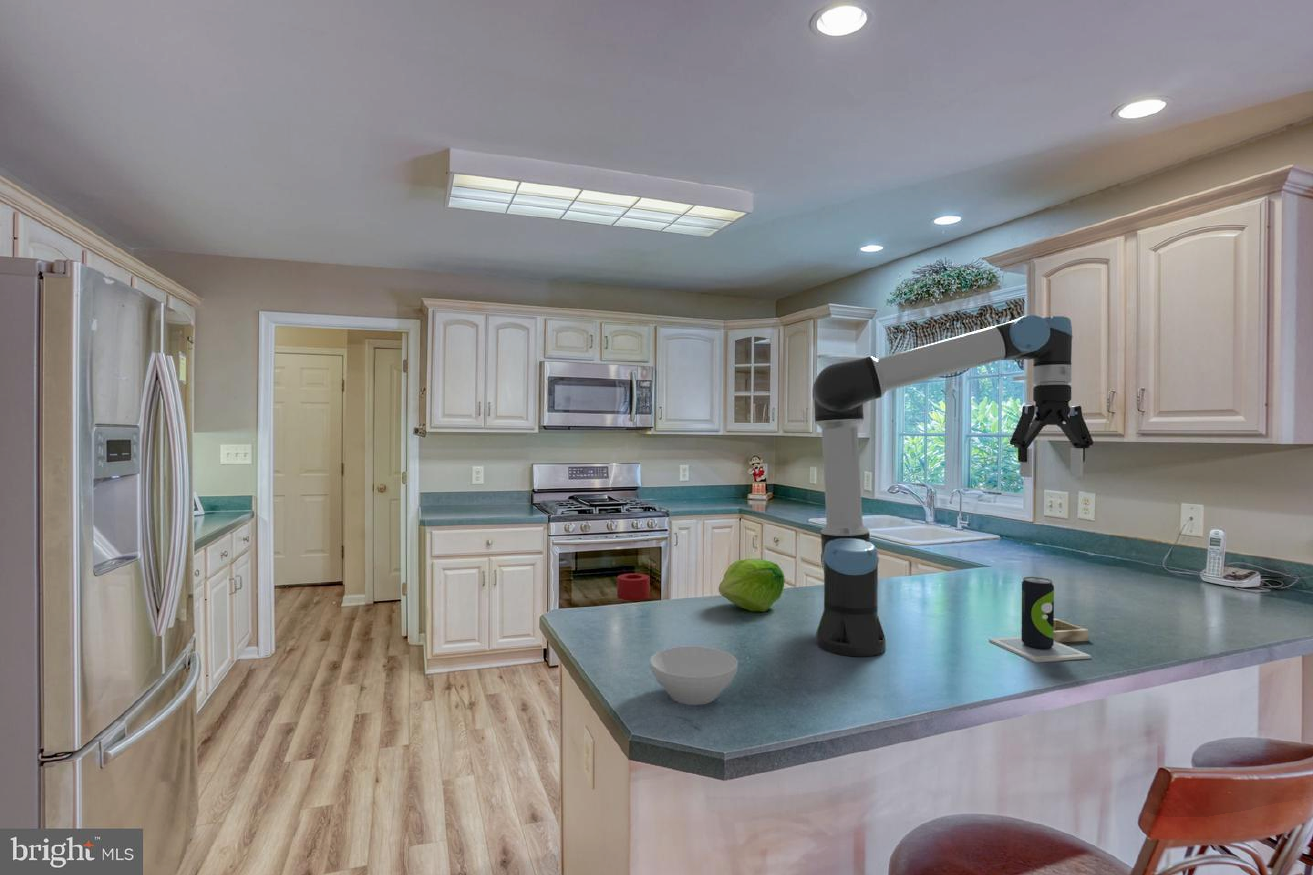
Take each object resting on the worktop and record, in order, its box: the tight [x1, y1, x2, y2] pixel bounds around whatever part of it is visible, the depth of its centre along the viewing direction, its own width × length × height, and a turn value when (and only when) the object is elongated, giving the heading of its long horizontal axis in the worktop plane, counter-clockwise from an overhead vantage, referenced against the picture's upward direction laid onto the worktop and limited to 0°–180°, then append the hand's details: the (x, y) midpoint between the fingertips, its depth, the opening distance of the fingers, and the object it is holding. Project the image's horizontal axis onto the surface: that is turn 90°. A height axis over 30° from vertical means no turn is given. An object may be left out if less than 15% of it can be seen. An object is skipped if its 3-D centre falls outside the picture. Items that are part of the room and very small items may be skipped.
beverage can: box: [1021, 576, 1055, 650], centre depth 144 cm, size 6×6×15 cm
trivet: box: [988, 636, 1092, 663], centre depth 143 cm, size 14×14×1 cm
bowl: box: [649, 645, 739, 706], centre depth 116 cm, size 16×16×7 cm
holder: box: [1054, 618, 1090, 644], centre depth 153 cm, size 10×10×2 cm
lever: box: [616, 572, 651, 601], centre depth 190 cm, size 18×9×7 cm, turn 175°
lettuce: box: [717, 558, 786, 613], centre depth 175 cm, size 15×20×14 cm
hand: (1051, 476), depth 147 cm, fingers open, 13 cm apart
